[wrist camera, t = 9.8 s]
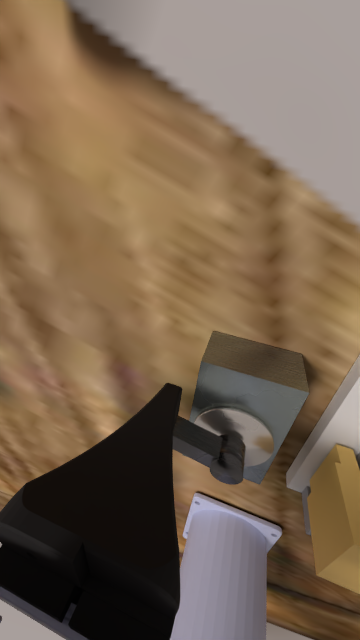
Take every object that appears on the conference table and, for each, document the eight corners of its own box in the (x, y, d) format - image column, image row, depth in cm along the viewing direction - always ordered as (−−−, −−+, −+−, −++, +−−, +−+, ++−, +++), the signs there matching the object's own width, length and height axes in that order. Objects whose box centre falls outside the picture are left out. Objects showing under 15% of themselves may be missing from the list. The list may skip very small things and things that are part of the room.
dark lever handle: (250, 443, 13) (248, 474, 11) (238, 458, 14) (234, 488, 12) (164, 401, 13) (152, 425, 12) (157, 418, 14) (145, 442, 13)
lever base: (261, 441, 18) (259, 489, 15) (194, 418, 19) (181, 459, 16) (301, 354, 13) (310, 397, 11) (212, 330, 14) (199, 364, 12)
